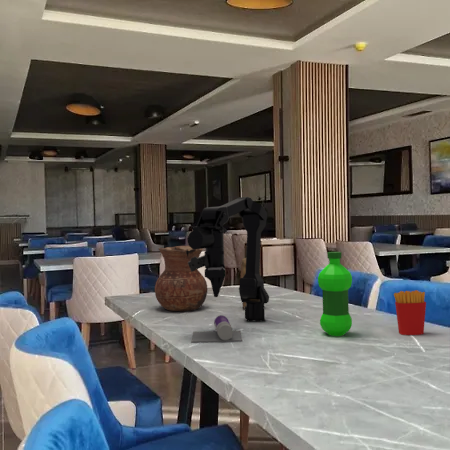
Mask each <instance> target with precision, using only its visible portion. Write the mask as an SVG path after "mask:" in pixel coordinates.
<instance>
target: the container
mask: <svg viewBox="0 0 450 450" xmlns="http://www.w3.org/2000/svg"><path fill="white" fill-rule="evenodd" d="M213 324H214V327H215V331H217V333H218V335H219V337H220V338H221V339H222V340H229V339H230V338H231V337H232V336H233V331H234V330H233V327H232V324H231V323H230V320H229V318H228V317H226V316H225V315H218V316H216V317H215V318H214V321H213Z"/></svg>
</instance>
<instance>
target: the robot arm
mask: <svg viewBox="0 0 450 450" xmlns="http://www.w3.org/2000/svg"><path fill="white" fill-rule="evenodd" d="M237 214H238V216H239V217H240V219H242V225H243V227H244V229H245V231H246V251H245V258H246V272H245V275H244V276H243V278H241V277H239V281H238V282H239V286H238V290H239V291H238V293H239V296H240V301H241V303H243V302H246V306H245V307H244V308H245V309H244V308H243V309H244V320H246V322H265V321H266V318H265V317H266V316H265V304H268V303H269V301H270V295H269V294H268V292H267V290H266V288H265V282H264V279H263V278H262V275H261V276H260V273H261V248H262V247H261V243H262V241H261V240H262V232H263V231H264V229H265V227H266V226H267V219H268V212H267V211H266V209H265V208H264V207H263V205H261V204H259V203H258V202H256V201H254V200H253V198H252V197H249V196H246V197H245V196H241V197H237V198H236V199H234V200H231V201H229V202H227V203H224V204H223V205H220V206H210V207H204V208H203V209H202V212H201V214H200V216H199V219H198V221H197V223H196V225H195V226H192V230H191V231H190V232H189V233H188V236H187V240H186V241H187V244H188V245H187V246H190V247H191V248H192V249H203V250H204V249H205V251H204V255H202V256H201V255H200V256H199V258H197V257H196V256H195V257H193V258H191V261H189V262H188V265H189V267H190V270H191V272H193V271H195V270H196V269H202V268H205V269H204V278H206V279H207V280H209V281H210V284H211V288H212V289H211V290H212V293H213V297H214V298H218V297H219V294H220V292H221V288H222V285H223V283H224V280H225V278H226V265H225V247H224V246H225V244H224V242H225V241H224V240H225V239H224V233H227V232H228V230H227V229H226V228H225V227H224V225H225V224H227V223H228V222H229V219H230V218H231V217H233V216H235V215H237ZM259 299H260V300H259Z"/></svg>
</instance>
